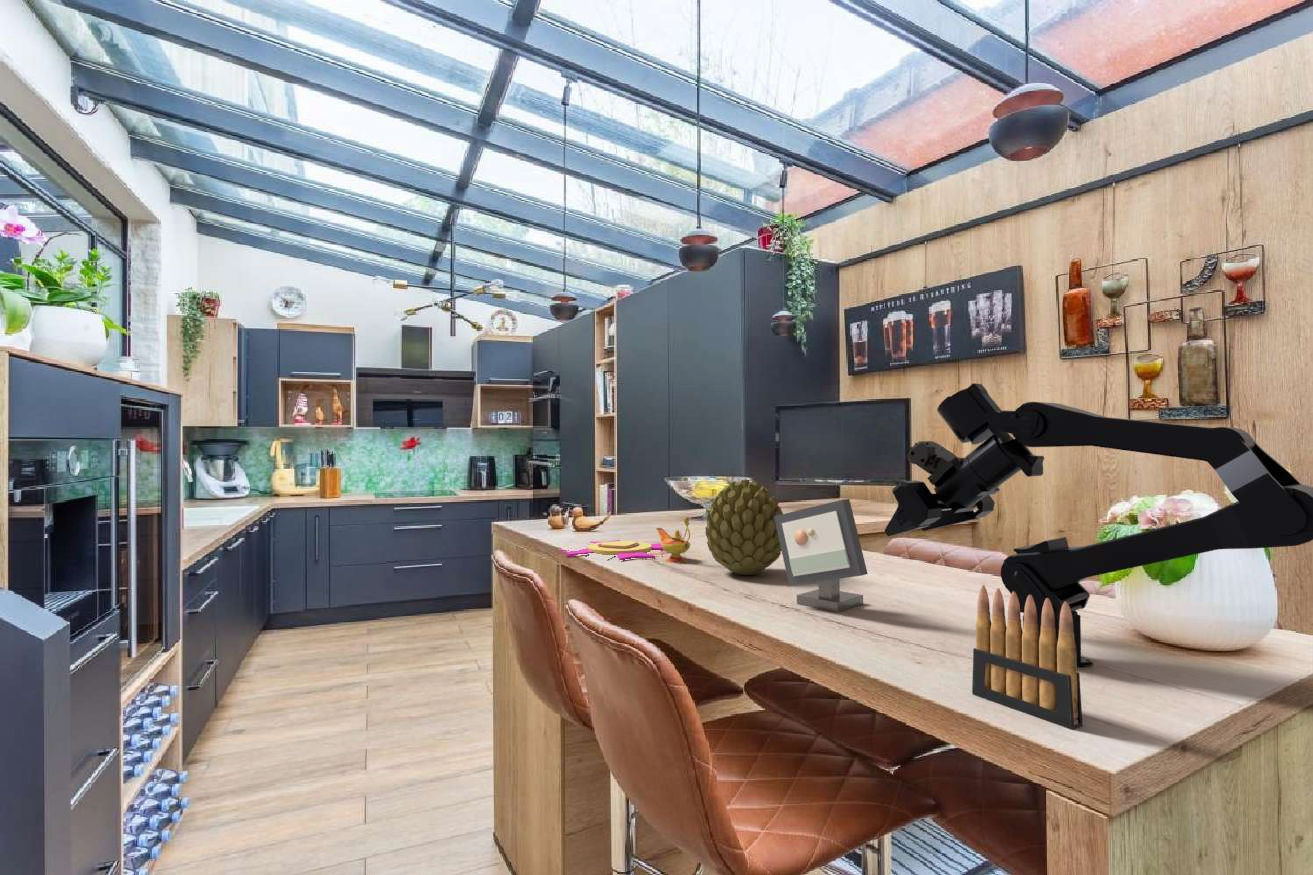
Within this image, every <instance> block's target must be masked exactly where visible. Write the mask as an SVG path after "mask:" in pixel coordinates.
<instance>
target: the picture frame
mask: <svg viewBox="0 0 1313 875" xmlns="http://www.w3.org/2000/svg"><path fill="white" fill-rule="evenodd" d="M774 519H775V523H776V528H777V533H778V537H779V542H780V546H781V554H782V559H783V563H784V568H785V573H786V576H787V577H786V578H787V581H788V586H789V587H792V586H797V585H798V586H799V585H800V586H801V585H806V584H812V583H818V582H821V581H828V580H835V579H840V580H841V579H847V578H854V577H860V576H865V575H868V569H867V565H866V562H865V556H864V553H863V549H862V546H861V544H862V543H861V541H860V538H859V534H858V528H857V525H856V520H855V517H854V512H853V508H852V503H851V501H850V498H845V499H840V500H836V501H835V500H834V501H832V502H831V501H830V502H828V503H823V504H820V505H819V504H818V505H814V506H811V507H807V508H803V509H798V510H794V511H790V512H786V513H783V514H781V515H777V516H774Z"/></svg>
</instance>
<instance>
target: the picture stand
mask: <svg viewBox="0 0 1313 875" xmlns="http://www.w3.org/2000/svg"><path fill="white" fill-rule="evenodd" d="M840 580H841V579H835V580H828V581H821V582H817V583H818V588H817V589H814V590H809V591H807V592H803V593H799V594H796V605H800V606H801V605H802V606H806V607H811V608H816V609H819V610H820V609H821V610H826V611H831V612H835V613H838V612H842V611H844V610H848V609H851V608H854V607H857V606H860V605H863V604H864V594H859V593H854V592H853V593H852V592H850V591H849V592H848V591H841V589H840V588H841V587H840Z"/></svg>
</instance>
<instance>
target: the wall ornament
mask: <svg viewBox="0 0 1313 875" xmlns="http://www.w3.org/2000/svg"><path fill="white" fill-rule="evenodd" d="M590 542H591V543H594V544H591V545H590V544H588V545H587V546H588V548H586V549H582V550H579V551H570V552H569V553H568V554H566V558H575V557H574V556H575V555H578V554H588V553H596V554H602V555H617V556H618V558H619V559H620V560H625V559H631V558H655V559H656V556H654V555H662V556H663V555H664V554H663V553H666V554H669V553H668V552H666V551H661V552H659V553H650V554H647V552H650V551H651V550H664V549H663V548H662V546H661V542H659V543H647V542H641V541H632V540H623V541H622V540H621V539H615V540H609V541H590ZM562 549H563V548H560V549H558V550H559V551H558V552H559V553H561V554H563V553H562V551H567V550H562ZM568 551H569V550H568ZM577 558H578V559H579V558H580V557H577ZM618 558H617V559H618ZM619 559H618V560H619ZM579 560H580V559H579Z"/></svg>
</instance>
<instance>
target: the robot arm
mask: <svg viewBox="0 0 1313 875" xmlns="http://www.w3.org/2000/svg"><path fill="white" fill-rule="evenodd" d="M936 409H937V410H936V411H937V414H939V416H940V417H941V418H942V419H943V421H944V423H945V424H946V425H947V426H948V428H949V429H950V430H951V431H952V433H953V434H954V435H955V437H957V439H958V440H959V442H960V443H962V444H966V443H970V444H972V445H974V446H975V445H978V446H977V447H976V448H974V449H973V450H972V451H971V452H969V453H968V454H966V455H965V457H958V456H957V454H954V453H953V452H952V451H950V450H949V449H947V448H946V447H944V446H942V445H941V444H940V443H937V442H935V441H931V440H925V441H924V440H923V441H922V440H921V441H919V440H918V442H914V445H912V446H910V447H909V448H908V461H909V463H911V464H913V465H916V466H917V467H919V468H920V469H922V470H923V471H925V472H926V473H928V474H929V476H928V477H927V480H928V481H929V483H930V484H931V485H932V486H934V488H933V490H934V492H935V493H932V491H931V490H930V489H929V488H928V486H927V484H926V483H925V482H924V481H921V480H904V481H903V480H902V481H900V482H899V483H898V484H897V485H895V486H894V487H893V488H892V492H891V493H892V495H894V498H895V500H896V502H897V507H896V510H895V512H894V513H893V515H892V516H891V518H890V520H889V522H888V523H887V525H886V526H885V528H884V533H885V534H886V536H887V537H892V536H896V535H901V534H904V533H905V534H906V533H909V532H912V531H916V530H919V529H921V530H922V531H923V532H926V531H927V532H928V531H931V530H932V531H933V530H935V529H940V528H945V527H949V526H952V525H957V524H961V523H965V522H970V521H971V522H972V521H975V520H978V519H979V518H985V517H987V516H988V515H989V514H991V513H992V512H994V511H995V500H993V498H992V496H991V495H996V494H997V493H998V492H1000V491H1001V489H1000V488H999V487H1000V486H1001V485H1002V484H1004V483H1005V482H1007V481H1008V480H1010V478H1012V477H1013V476H1015V475H1016V474H1018V473H1019V472H1020V471H1022V473H1023V474H1024V475H1025V476H1026V477H1029V478H1031V477H1041V476H1043V475H1044V466H1043V465H1044V464H1043V463H1044V460H1045V457H1044V456H1043V455H1036V454H1034V453H1033V452H1032V451H1031V450H1030V449H1029V448H1054V447H1056V448H1057V447H1058V448H1059V447H1061V448H1062V447H1065V448H1066V447H1096V448H1104V449H1111V450H1113V449H1114V450H1120V451H1127V452H1134V453H1140V454H1141V453H1143V454H1149V455H1150V454H1152V455H1159V456H1166V457H1172V458H1173V457H1174V458H1179V459H1181V458H1182V459H1188V460H1194V461H1195V460H1196V461H1202V462H1206V463H1208V464H1209V465H1210V466H1211V468H1213V470H1214V472H1216V474H1217V475H1218V477H1219V478H1220V479H1221V481H1222V483H1223V484H1224V485H1225V486H1226V488H1227V489H1228V491H1229V492H1230V493H1231V495H1232V496H1233V497H1234V498H1235V499H1236V500H1237V501H1235V502H1233V503H1231V504H1229V505H1227V506H1226V505H1225V506H1224V507H1222V508H1220V509H1218V510H1215V511H1213V512H1211V513H1209V514H1207V515H1204V516H1202V517H1199V518H1198V517H1197V518H1195V519H1190V520H1185V521H1183V522H1178V523H1174V524H1170V525H1166V526H1165V525H1164V526H1162V527H1158V528H1153V529H1150V530H1145V531H1142V532H1137V533H1134V534H1133V533H1132V534H1129V535H1125V536H1122V537H1117V538H1114V539H1112V538H1111V539H1109V540H1105V541H1101V542H1096V543H1092V544H1090V545H1089V544H1088V545H1084V546H1069V544H1068V543H1069V542H1068V539H1067V537H1066V536H1064V537H1059V538H1058V537H1057V538H1054V539H1048V540H1047V539H1046V540H1043V541H1042V542H1039V543H1035V544H1030V545H1029V544H1028V545H1025V546H1020V547H1015V548H1013V552H1015V553H1014V554H1012V555H1009V556H1007V557H1005V559H1003V563H1002V565H1001V567H1000V577H1001V582H1002V584H1003V585H1004V587H1005V589H1006V590H1007V591H1008V592H1009V593H1010V595H1011V594H1012V592H1013V591H1014V592H1015V593H1016V595H1017V597H1018V601H1019V605H1020V614H1021V613H1022V614H1023V615H1022V627H1023V626H1024V610H1025V604H1026V600H1027V597H1028V596H1029V595H1032V597H1033V599H1034V602H1035V606H1036V612H1037V623H1038V633H1039V637H1040V634H1041V616H1042V609H1043V605H1044V602H1045V600H1046V598H1049V600H1050V602H1051V604H1052V607H1053V612H1054V619H1055V632H1056V638H1057V643H1058V638H1059V620H1060V613H1061V609H1062V606H1063V604H1064V602H1067V603H1068V604H1069V607H1070V610H1071V613H1072V619H1073V631H1074V640H1075V645H1076V658H1077V667H1081V666H1082V667H1083V666H1094V660H1091V659H1090V658H1087V657H1086V656H1085V657H1084V656H1082V633H1081V632H1082V631H1081V630H1082V629H1081V628H1082V626H1081V624H1082V623H1081V622H1082V621H1081V615H1080V614H1078V610H1082V609H1085V608H1086V606H1087V604H1088V602H1089V599H1090V596H1091V594H1090V592H1089V591H1088V590H1087V589H1086V588H1085V587H1084V586H1083V585H1082V584H1081V583H1082V582H1083V581H1085V580H1087V579H1089V578H1092V577H1094V576H1100V575H1104V574H1109V573H1114V572H1117V571H1122V570H1127V569H1128V570H1129V569H1132V568H1133V569H1134V568H1138V567H1142V566H1147V565H1151V564H1152V565H1153V564H1156V563H1162V562H1165V561H1170V560H1174V559H1179V558H1185V557H1189V556H1193V555H1199V554H1204V553H1208V552H1212V551H1217V550H1245V549H1246V550H1248V549H1249V550H1251V549H1253V550H1254V549H1266V548H1284V547H1296V546H1301V545H1303V544H1306V543H1310V542H1312V541H1313V487H1312V486H1309V485H1306V484H1303V483H1301V482H1300V481H1299V480H1298V479H1297V478H1296V477H1295V476H1294V475H1293V474H1292V473H1291V472H1290V471H1289V470H1288V469H1286V468H1285V466H1283V465H1282V464H1280V463H1279V461H1277V460H1276V459H1275V458H1273V457H1272V456H1271V455H1270V454H1269V453H1268V452H1267V451H1265V450H1264V449H1263V448H1262V447H1261V446H1260V445H1259V444H1258V443H1257V442H1255V441H1254V438H1253V437H1252V436H1251V434H1250V433H1248V432H1247V431H1245V430H1243V428H1242V429H1241V428H1238V427H1231V426H1229V427H1227V426H1219V427H1217V426H1216V427H1209V426H1198V425H1190V424H1180V423H1171V422H1169V423H1168V422H1159V421H1148V420H1140V419H1128V418H1121V417H1109V416H1105V415H1104V416H1103V415H1101V414H1097V413H1094V412H1090V411H1087V410H1085V409H1080V408H1076V407H1072V406H1069V405H1066V404H1065V405H1064V404H1062V403H1055V402H1040V401H1027V402H1025V403H1022V404H1021V405H1020V406H1018V408H1016V409H1015V410H1002V409H1001V408H1000V406H998V404H997V403H996V401H994V400H993V398H992V397H991V396H990V395H989V392H988V391H987V388H985V386H984V385H983V384H982V383H971V384H970V385H969V386H968V387H966V388H964V389H961V390H959V391H957V392H955V393H954V394H952V395H949V396H947V397H945V399H943V401H942V402H940V404H939V405H938V406H937V408H936ZM976 508H977V510H976ZM974 510H976V511H974ZM1080 582H1081V583H1080Z"/></svg>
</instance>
